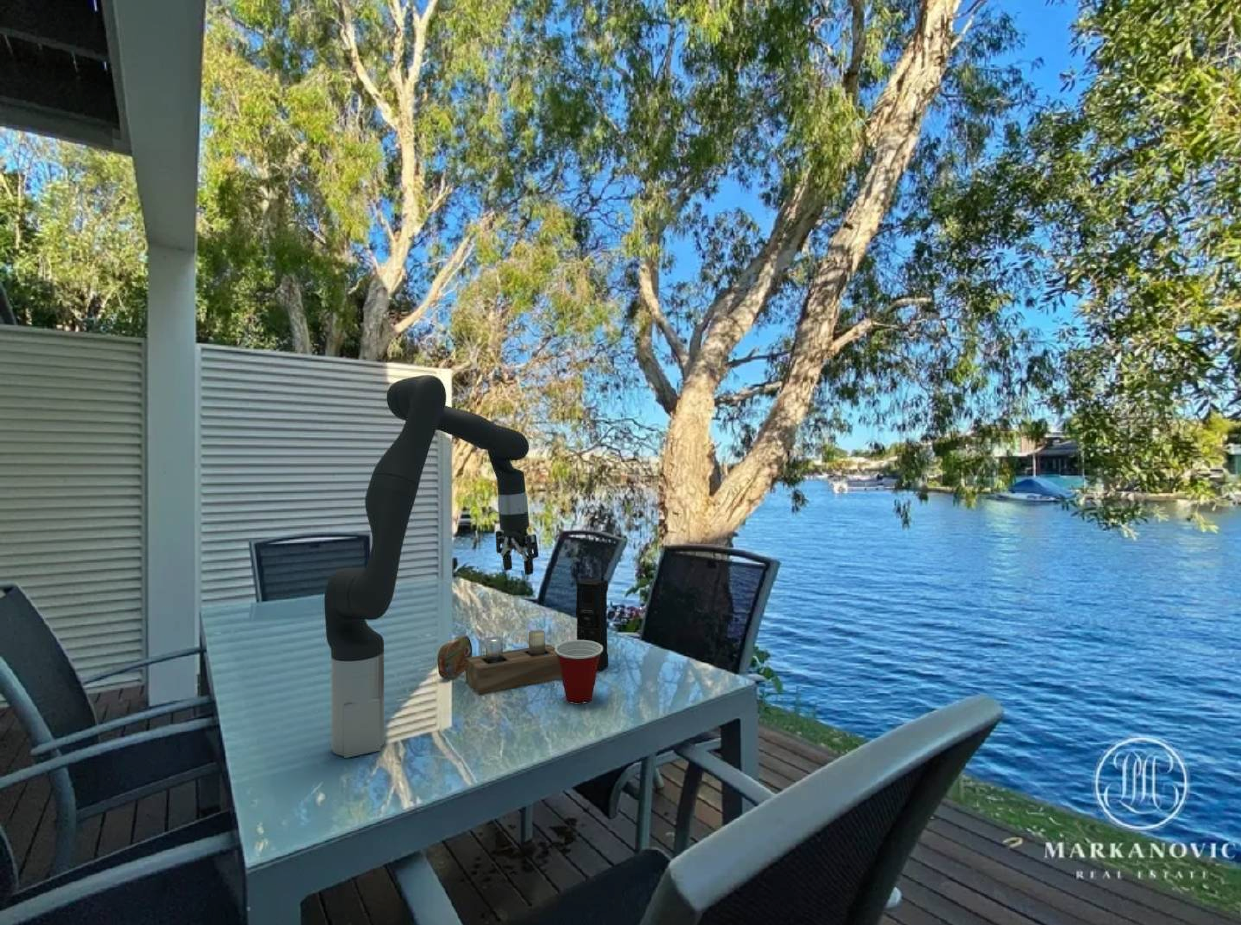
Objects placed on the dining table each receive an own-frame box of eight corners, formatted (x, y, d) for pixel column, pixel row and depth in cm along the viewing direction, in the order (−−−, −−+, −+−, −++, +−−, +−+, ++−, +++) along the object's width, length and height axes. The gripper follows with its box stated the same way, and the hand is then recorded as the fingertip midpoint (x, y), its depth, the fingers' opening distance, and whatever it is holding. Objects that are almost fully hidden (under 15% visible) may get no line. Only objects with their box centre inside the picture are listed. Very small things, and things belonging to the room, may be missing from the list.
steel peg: (505, 662, 154) (505, 639, 154) (489, 665, 152) (489, 641, 152) (499, 658, 157) (499, 635, 157) (483, 660, 155) (483, 637, 155)
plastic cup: (559, 711, 137) (559, 655, 137) (551, 694, 148) (550, 641, 148) (609, 706, 140) (608, 650, 140) (597, 689, 150) (596, 638, 151)
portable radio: (571, 668, 166) (570, 571, 166) (583, 662, 171) (582, 568, 171) (598, 673, 162) (597, 573, 162) (609, 666, 168) (608, 570, 168)
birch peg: (547, 655, 160) (547, 632, 160) (532, 657, 158) (532, 635, 158) (541, 651, 163) (541, 629, 163) (526, 653, 161) (526, 631, 161)
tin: (447, 683, 156) (446, 648, 156) (435, 682, 157) (434, 647, 157) (473, 664, 171) (473, 632, 171) (462, 663, 171) (462, 632, 172)
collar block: (566, 678, 159) (565, 653, 159) (479, 695, 147) (479, 668, 148) (549, 667, 167) (548, 644, 167) (465, 682, 156) (465, 657, 156)
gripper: (484, 511, 167) (490, 571, 169) (519, 515, 158) (524, 579, 159) (507, 506, 173) (512, 565, 175) (542, 509, 163) (547, 572, 165)
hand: (518, 571), depth 167 cm, fingers open, 8 cm apart
